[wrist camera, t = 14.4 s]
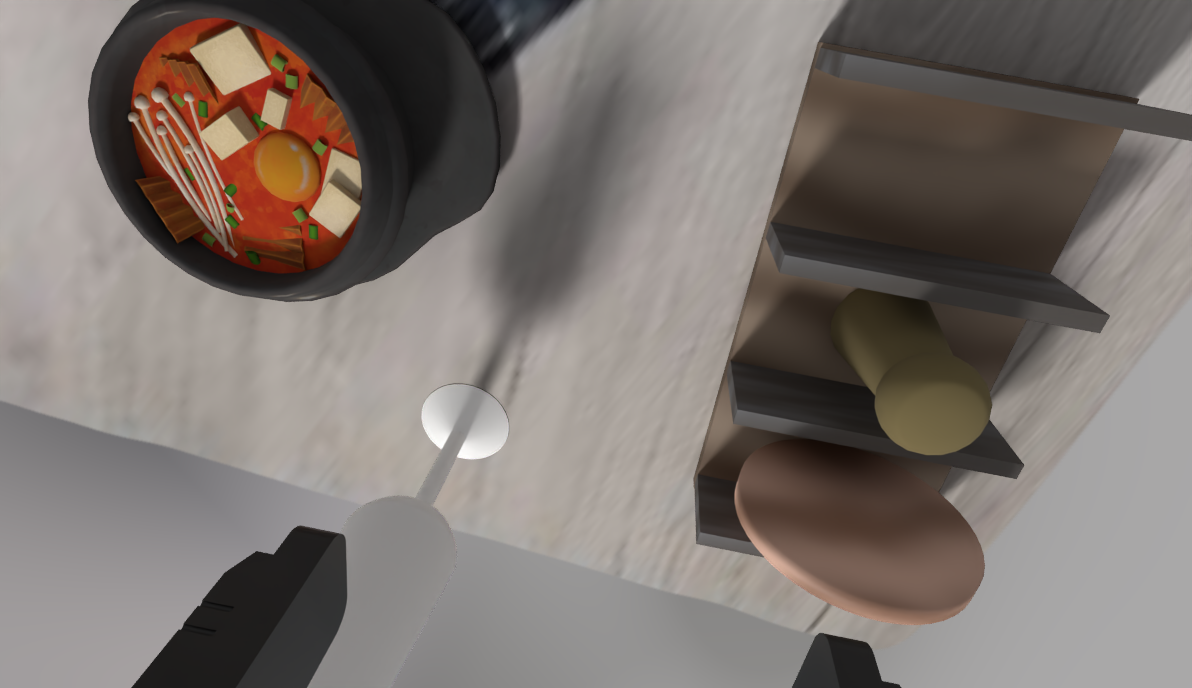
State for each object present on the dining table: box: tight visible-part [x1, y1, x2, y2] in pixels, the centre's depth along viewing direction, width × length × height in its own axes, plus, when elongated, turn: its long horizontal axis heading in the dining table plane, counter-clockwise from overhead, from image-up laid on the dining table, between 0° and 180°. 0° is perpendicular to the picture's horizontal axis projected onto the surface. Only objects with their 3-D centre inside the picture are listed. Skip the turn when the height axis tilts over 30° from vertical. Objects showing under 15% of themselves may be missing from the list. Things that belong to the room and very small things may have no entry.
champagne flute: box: [307, 384, 509, 688], centre depth 38 cm, size 7×7×24 cm
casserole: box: [88, 0, 501, 302], centre depth 37 cm, size 25×19×8 cm
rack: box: [694, 42, 1192, 625], centre depth 35 cm, size 30×16×15 cm, turn 171°
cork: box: [830, 288, 992, 455], centre depth 36 cm, size 6×6×11 cm
